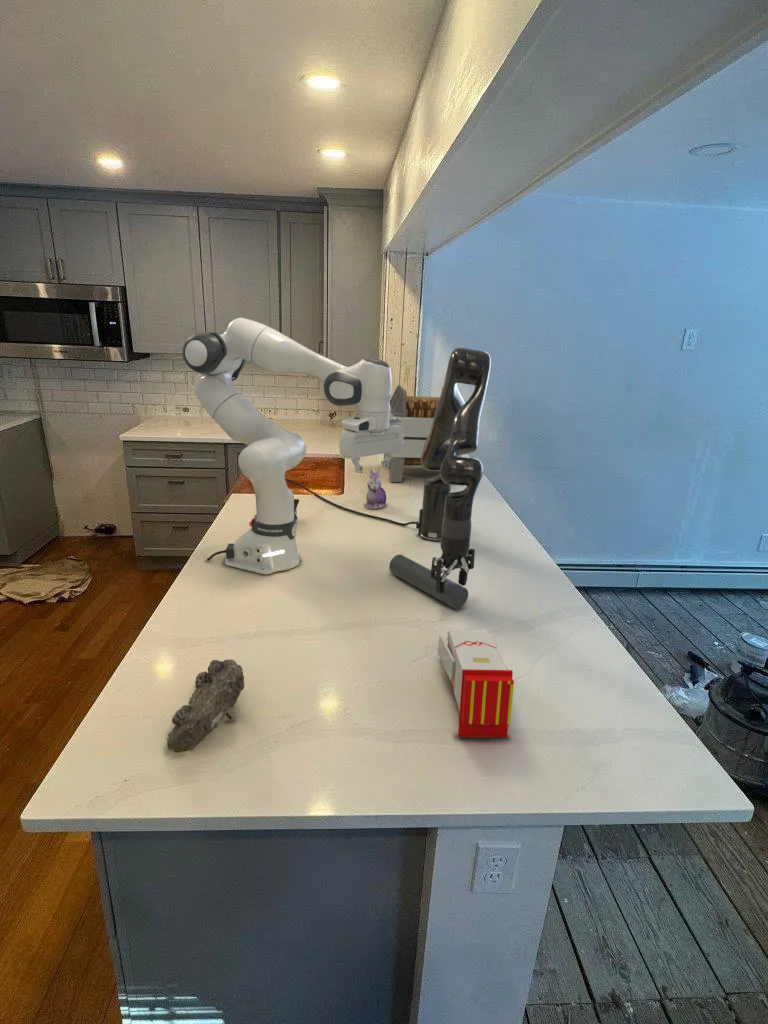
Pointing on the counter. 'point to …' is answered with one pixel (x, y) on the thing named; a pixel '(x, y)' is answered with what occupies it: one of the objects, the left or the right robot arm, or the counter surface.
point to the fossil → (206, 705)
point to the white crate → (411, 429)
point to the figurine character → (295, 507)
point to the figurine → (375, 491)
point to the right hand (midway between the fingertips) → (451, 588)
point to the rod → (428, 581)
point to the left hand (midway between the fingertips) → (372, 469)
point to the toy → (478, 682)
